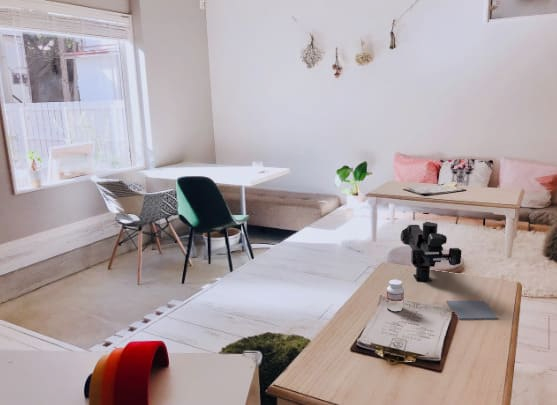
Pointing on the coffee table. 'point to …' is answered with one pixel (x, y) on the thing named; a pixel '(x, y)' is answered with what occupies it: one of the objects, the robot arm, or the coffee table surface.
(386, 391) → the coffee table surface
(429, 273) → the robot arm
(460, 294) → the coffee table surface
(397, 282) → the pill bottle
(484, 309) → the mat
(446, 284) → the coffee table surface
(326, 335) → the coffee table surface
